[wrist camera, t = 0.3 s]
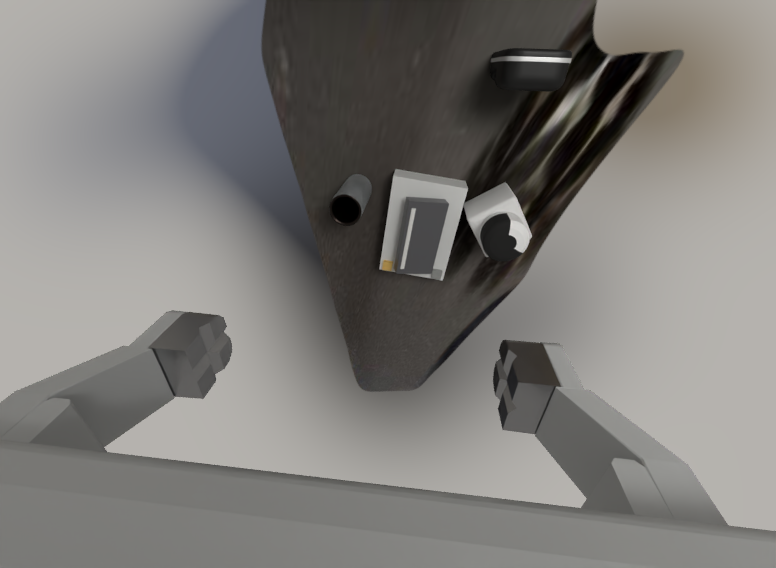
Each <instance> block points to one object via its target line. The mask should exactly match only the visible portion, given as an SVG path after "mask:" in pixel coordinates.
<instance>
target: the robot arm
mask: <svg viewBox="0 0 776 568" xmlns="http://www.w3.org/2000/svg"><path fill="white" fill-rule="evenodd" d="M226 327H227V326H226V323H225V320H224V318H223V317H221V316H219V315H211V314H202V313H193V312H181V311H169V312H166V313H165V314H164V315H163V316H162V317H160V318H159V319H158V320H157V321H156V322H155V323H154V324H153V325H152V326H151V327H150V328H148V329H147V330H146V331H145V332H144V333H143V334H142V335H141V336H139V337H138V338H137V339H136V340H135V341H134V342H133V343H132V344H131V345H129V346H122V347H120V348H117V349H115V350H112V351H110V352H108V353H105V354H103V355H101V356H98V357H96V358H94V359H91V360H89V361H86V362H84V363H82V364H79V365H77V366H75V367H72V368H70V369H67V370H65V371H63V372H60V373H58V374H56V375H53V376H51V377H49V378H46V379H44V380H41V381H39V382H37V383H34V384H32V385H29V386H27V387H25V388H23V389H20V390H18V391H15V392H14V393H12V394H11V395H10V396H8V397H7V398H6V399H5V400H3V401H2V402H1V403H0V568H776V531H768V530H760V529H752V528H743V527H734V526H728V524H727V523H726V521H725V520H724V518H723V517H722V515H721V514H720V512H719V511H718V509H717V508H716V506H715V505H714V503H713V502H712V500H711V499H710V497H709V496H708V494H707V493H706V491H705V490H704V488H703V487H702V485H701V484H700V482H699V481H698V479H697V478H696V476H695V475H694V473H693V472H692V470H691V468H690V467H689V466H688V464H686V463H685V462H684V461H682V460H681V459H680V458H679V457H677V456H676V455H675V454H673V453H672V452H671V451H669V450H668V449H667V448H665V447H664V446H663V445H661V444H660V443H659V442H658V441H656V440H655V439H654V438H652V437H651V436H650V435H648V434H647V433H646V432H644V431H643V430H642V429H641V428H639V427H638V426H636V425H635V424H634V423H632V422H631V421H630V420H629V419H627V418H626V417H625V416H623V415H622V414H621V413H620V412H618V411H617V410H616V409H614V408H613V407H612V406H610V405H609V404H608V403H606V402H605V401H604V400H603V399H601V398H600V397H599V396H597V395H596V394H595V393H593V392H592V391H591V390H585V389H584V388H583V386H582V384H581V382H580V380H579V378H578V376H577V374H576V372H575V370H574V368H573V366H572V365H571V362H570V361H569V359H568V356H567V355H566V352H565V350H564V348H563V347H562V345H560V344H557V343H542V342H541V343H536V342H524V341H510V340H503V341H502V343H501V345H500V349H499V352H500V357H501V359H499V360H498V361H497V362H496V364H495V368H494V376H493V384H494V391H495V395H496V396H497V397H498V398H499V399H500V404H499V407H498V410H499V415H500V420H501V424H502V429H503V430H508V431H516V432H523V433H530V434H536V435H535V436H536V437H537V438H538V440H539V441H540V442H541V443H542V445H543V446H544V447H545V448H546V449H547V450H548V452H549V453H550V454H551V456H552V457H553V458H554V459H555V460H556V462H557V463H558V464H559V465H560V466H561V468H562V469H563V470H564V471H565V473H566V474H567V475H568V476H569V477H570V478H571V480H572V481H573V482H574V483H575V485H576V486H577V487H578V488H579V490H581V492H582V493H583V494H584V496H585V497H586V498H587V500H586V501H585V503H584V504H583V506H582V507H581V508H575V507H566V506H557V505H549V504H541V503H532V502H524V501H514V500H507V499H498V498H490V497H482V496H473V495H465V494H456V493H448V492H438V491H430V490H422V489H414V488H405V487H396V486H388V485H380V484H371V483H362V482H354V481H345V480H337V479H328V478H320V477H311V476H303V475H295V474H286V473H278V472H270V471H261V470H253V469H244V468H235V467H228V466H219V465H210V464H202V463H194V462H185V461H177V460H168V459H159V458H152V457H143V456H135V455H125V454H118V453H109V452H107V451H106V450H105V448H104V447H105V446H106V445H108V444H109V443H111V442H112V441H113V440H115V439H116V438H118V437H119V436H121V435H122V434H124V433H125V432H126V431H128V430H129V429H131V428H132V427H133V426H135V425H136V424H138V423H139V422H141V421H142V420H144V419H145V418H146V417H148V416H149V415H151V414H152V413H154V412H155V411H156V410H158V409H159V408H161V407H162V406H164V405H165V404H167V403H168V402H169V401H171V400H172V399H174V396H175V397H188V398H202V399H203V398H204V397H205V396H206V394H207V393H208V391H209V390H210V389H211V387H212V386H213V384H214V383H215V381H216V377H215V374H216V373H218V372H220V371H221V370H223V369H224V368H225V366H226V365H227V364H228V362H229V360H230V356H231V353H232V343H231V340H230V338H229V337H228V336H227V335H226V334H225V333H224V330H225V328H226Z"/></svg>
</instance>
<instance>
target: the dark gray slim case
mask: <svg viewBox="0 0 776 568" xmlns="http://www.w3.org/2000/svg"><path fill="white" fill-rule="evenodd" d="M448 207H449V203H448V202H447V201H446V200H445V199H436V198H421V197H406V201H405V206H404V212H403V218H402V223H401V229H400V235H399V240H398V246H397V252H396V257H395V263H394V270H395V272H396V274H432V270H433V266H434V262H435V258H436V254H437V250H438V246H439V242H440V238H441V234H442V230H443V226H444V223H445V219H446V215H447V211H448Z"/></svg>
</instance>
